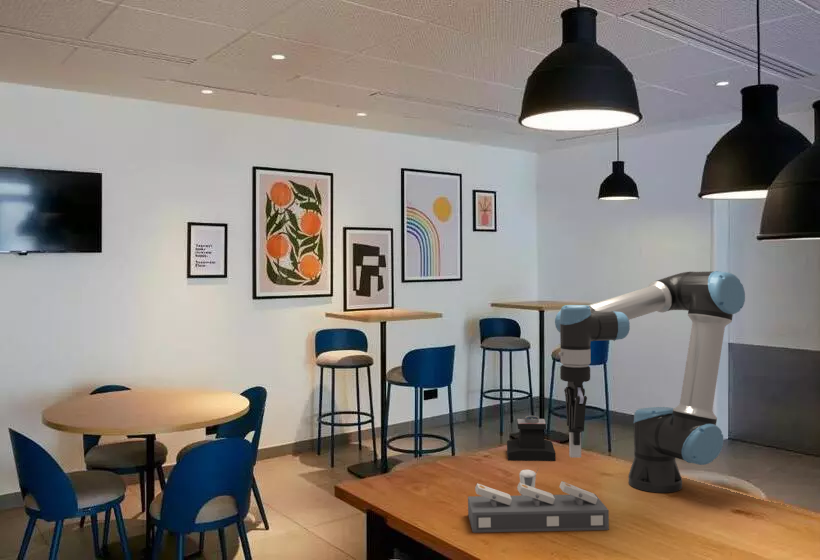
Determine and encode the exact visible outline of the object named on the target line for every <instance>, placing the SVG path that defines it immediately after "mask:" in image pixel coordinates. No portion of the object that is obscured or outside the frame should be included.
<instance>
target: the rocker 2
mask: <svg viewBox="0 0 820 560" xmlns="http://www.w3.org/2000/svg"><path fill="white" fill-rule="evenodd" d="M558 487H559V488H560V489H561V491H562V492H563V493H565V494H567V495H573V496H575V497H578V498H580V499H583V500H585V501H588V502H591V503H593V504H596V502H597V500H598V498H599V497H598V496H597V495H596V496H597V497H598V498H597V497H596V496H595V495H594V494H595V493H594V492H591V491H588V490H585V489H583V488H580V487H578V486H576V485H573V484H570V483H569V482H565V481H563V480H562V481H561V482H560V484H559V486H558Z"/></svg>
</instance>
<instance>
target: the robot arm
mask: <svg viewBox="0 0 820 560" xmlns="http://www.w3.org/2000/svg"><path fill="white" fill-rule="evenodd" d="M745 302H746V293H745V287H744V284H743V283H742V282H741V280H740V278H738V276H736V275H735V274H733V273H732V272H727V271H719V270H714V271H713V270H712V271H684V272H680V273H676V274H673V275H669V276H666V277H664V278H661V279H657V280H654V281H652V282H650V283H649V284H648V285H647V286H646V287H643V288H639V289H637V290H633V291H630V292H626V293H623V294H619V295H617V296H613V297H610V298H607V299H603V300H601V301H597V302H593V303H591V304H566V305H563V306H562V307H561V308H560V310H559V311H558V312H557V313H556V316H555V318H554V325H555V328H556V330H557V331H558V332H559V333H560V335H559V337H560V342H559V345H560V352H559V351H558V353H557V354H558V356H559V357H560V364H562V365H561V366H560V367H559V368H560V371H559V372H560V375H559V377H560V380H562V381H563V382H567V386H566V387H564V391H563V392H564V396H565V412H566V425H567V426H568V430H567V431H568V435H569V436H568V437H569V441H568V443H569V448H568V449H569V450H568V452H569V453H568V455H569V458H582V432H584V431H585V420H586V419H585V417H586V407H587V405H586V404H587V400H588V397H587V395H586V390H585V388H584V384H583V383H585V382H587V383H588V382H590V381H591V367H590V366H589V365H590V364H591V363H592V361H591V359H592V358H591V351H592V350H591V342H598V341H601V342H602V341H613V342H615V341H618V340H623V339H625V338H627V336H628V335H629V332H630V329H631V328H630V327H631V326H630V320H632V319H636V318H639V317H642V316H645V315H648V314H651V313H655V312H658V313H666V312H669V311H687V312H688V313H687V316H688V317H689V319H690V320H691V328H690V335H689V342H688V348H687V349H688V350H687V355H686V362H685V368H684V374H683V380H682V387H681V394H680V399H679V404H678V405H677V406H675V407H674V408H673V407H665V406H662V407H661V406H654V407H651V406H650V407H643V408H638V409H636V410H635V411H634V414H633V447H634V448H633V451H634V452H633V453H634V454H633V455H634V457H633V460H632V464H631V466H630V470H629V473H628V484H629V486H630V487H633V488H634V489H636V490H637V489H638V490H640V491H645V492H651V493H659V494H660V493H661V494H662V493H674V492H678V491H680V490H681V489H682V488H683V478H682V476H681V473H680V469H679V467H678V463H677V460H676V459H679V460H682V461H685V463H688V464H695V465H700V466H705V465H709V464H710V463H712V462H713V461H714V460H716V459H717V458H718V456H720V453H721V452H722V450H723V447H724V439H725V438H724V434H723V432H722V431H723V430H721V428H720V427H718V425H717V422H718V417H717V416H716V415H715V414H714V412H713V408H714V407H713V406H714V402H715V395H716V389H717V381H718V375H719V368H720V361H721V357H722V356H721V355H722V350H723V349H722V348H723V343H724V342H723V341H724V335H725V328H726V326H727V325H730V324H731V323H732V321H733V316H734V315H735V314H737V313H739V312H740V311H741V309H743V307H744V305H745Z"/></svg>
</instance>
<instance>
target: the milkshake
mask: <svg viewBox="0 0 820 560" xmlns="http://www.w3.org/2000/svg"><path fill="white" fill-rule="evenodd" d="M538 471H539V469H537V470H536V471H534V470H531V469H522V470H520V471H519V483H522V484H525V485H528V486H531V487H534V488H536V479H537V476H536V475H537V473H538ZM521 495H523V494H520V496H521Z"/></svg>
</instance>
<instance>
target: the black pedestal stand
mask: <svg viewBox="0 0 820 560" xmlns="http://www.w3.org/2000/svg"><path fill="white" fill-rule="evenodd" d="M516 424H517V429H518V431H519V432H518V438H514V439H510V440H509V439H508V440H506V441H507V442H506V453H507V454H506V455H507V461H508V462H509V461H511V462H512V461H513V462H514V461H515V462H516V461H517V462H521V461H522V462H556V458H557V456H556V450H555V447H554V444H553V441H552V440H548V439H545V437H544V436H545V435H544V430H547V424H546V420H545V418H540V417H539V416H537V415H526V416H525V417H524V418H522V417H520V418H517V419H516Z"/></svg>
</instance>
